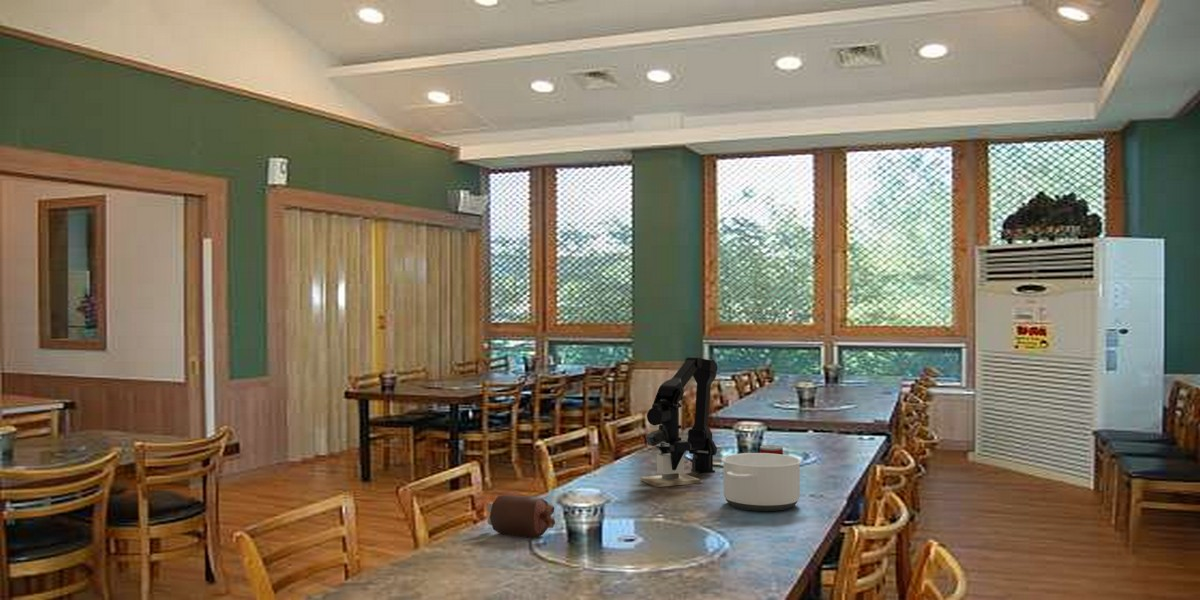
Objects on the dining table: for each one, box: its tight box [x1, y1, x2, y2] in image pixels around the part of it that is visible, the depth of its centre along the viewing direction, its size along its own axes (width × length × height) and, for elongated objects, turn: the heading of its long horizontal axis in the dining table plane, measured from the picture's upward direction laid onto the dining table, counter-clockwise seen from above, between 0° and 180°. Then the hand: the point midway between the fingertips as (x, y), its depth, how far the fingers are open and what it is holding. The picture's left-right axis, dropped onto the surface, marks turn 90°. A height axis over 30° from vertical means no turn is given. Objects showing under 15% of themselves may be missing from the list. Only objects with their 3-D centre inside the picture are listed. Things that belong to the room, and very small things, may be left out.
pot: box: [721, 452, 802, 512], centre depth 277 cm, size 33×23×14 cm
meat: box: [486, 494, 556, 539], centre depth 243 cm, size 20×12×10 cm, turn 63°
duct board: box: [640, 472, 701, 488], centre depth 314 cm, size 16×12×5 cm
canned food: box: [759, 444, 784, 455], centre depth 318 cm, size 8×8×11 cm
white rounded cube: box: [656, 453, 685, 475], centre depth 314 cm, size 8×5×6 cm, turn 113°
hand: (670, 468), depth 314 cm, fingers closed on white rounded cube, 5 cm apart
